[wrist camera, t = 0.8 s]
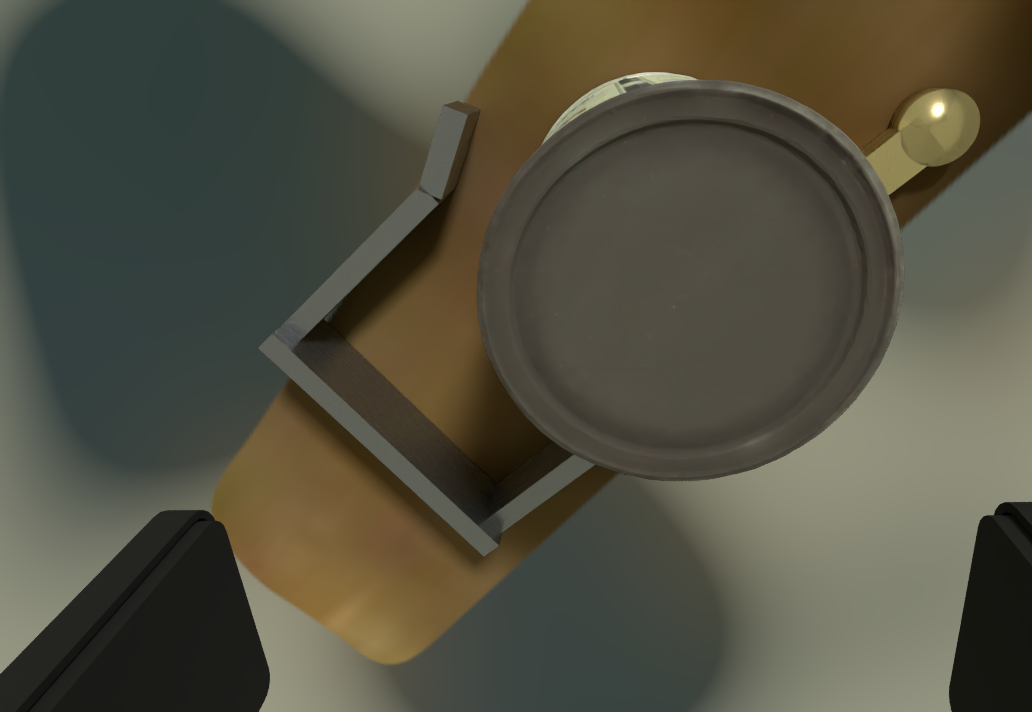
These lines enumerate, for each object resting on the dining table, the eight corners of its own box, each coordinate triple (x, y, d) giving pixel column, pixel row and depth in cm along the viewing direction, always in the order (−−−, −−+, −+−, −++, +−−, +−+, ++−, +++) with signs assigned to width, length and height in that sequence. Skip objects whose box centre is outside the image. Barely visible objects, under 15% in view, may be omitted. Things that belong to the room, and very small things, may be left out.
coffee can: (713, 344, 33) (785, 532, 20) (499, 271, 32) (430, 413, 20) (820, 118, 29) (998, 168, 16) (575, 33, 28) (550, 13, 15)
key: (939, 71, 27) (953, 72, 26) (980, 127, 28) (995, 130, 27) (790, 190, 30) (797, 196, 29) (830, 240, 30) (838, 247, 29)
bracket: (465, 92, 30) (445, 97, 26) (720, 376, 33) (735, 416, 29) (272, 295, 34) (231, 323, 30) (514, 525, 38) (505, 576, 34)
